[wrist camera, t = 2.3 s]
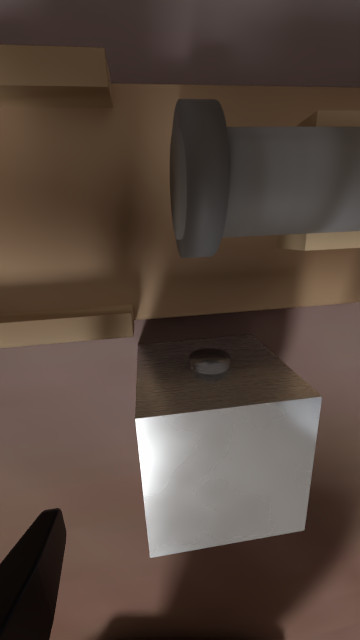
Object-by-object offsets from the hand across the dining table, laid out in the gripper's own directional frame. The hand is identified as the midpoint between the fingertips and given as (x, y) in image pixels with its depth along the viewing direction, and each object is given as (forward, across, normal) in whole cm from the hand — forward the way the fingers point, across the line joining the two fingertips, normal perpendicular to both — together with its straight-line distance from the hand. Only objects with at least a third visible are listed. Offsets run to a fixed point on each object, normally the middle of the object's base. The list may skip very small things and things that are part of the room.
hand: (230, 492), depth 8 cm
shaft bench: (+5, +5, -8) cm, 11 cm away
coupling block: (+5, 0, 0) cm, 5 cm away
